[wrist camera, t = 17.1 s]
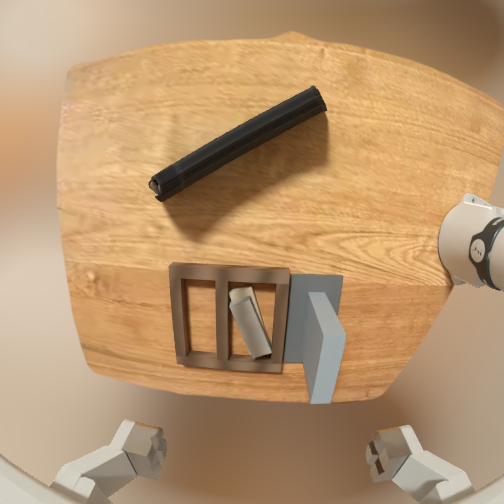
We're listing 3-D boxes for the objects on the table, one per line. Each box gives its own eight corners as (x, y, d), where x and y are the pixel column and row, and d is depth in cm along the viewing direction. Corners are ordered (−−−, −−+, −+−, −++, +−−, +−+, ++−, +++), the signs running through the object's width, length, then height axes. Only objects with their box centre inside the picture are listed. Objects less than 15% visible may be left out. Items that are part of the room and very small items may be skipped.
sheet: (324, 292, 47) (346, 335, 33) (316, 350, 50) (330, 403, 36) (307, 292, 48) (323, 335, 33) (300, 350, 50) (310, 404, 36)
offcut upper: (250, 295, 47) (249, 299, 45) (271, 346, 49) (271, 352, 48) (230, 301, 48) (229, 306, 46) (253, 352, 50) (252, 358, 48)
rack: (288, 267, 47) (290, 272, 45) (280, 364, 52) (280, 372, 50) (173, 262, 48) (168, 266, 46) (180, 357, 53) (177, 363, 50)
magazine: (340, 72, 31) (130, 167, 27) (353, 90, 32) (144, 191, 28) (298, 112, 48) (152, 188, 44) (306, 127, 49) (161, 204, 45)
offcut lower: (252, 283, 49) (251, 287, 47) (270, 344, 52) (270, 350, 50) (230, 288, 49) (228, 292, 47) (250, 348, 52) (249, 354, 50)
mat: (342, 275, 47) (343, 276, 47) (328, 360, 51) (328, 362, 51) (291, 273, 48) (291, 274, 47) (283, 360, 52) (283, 362, 51)
